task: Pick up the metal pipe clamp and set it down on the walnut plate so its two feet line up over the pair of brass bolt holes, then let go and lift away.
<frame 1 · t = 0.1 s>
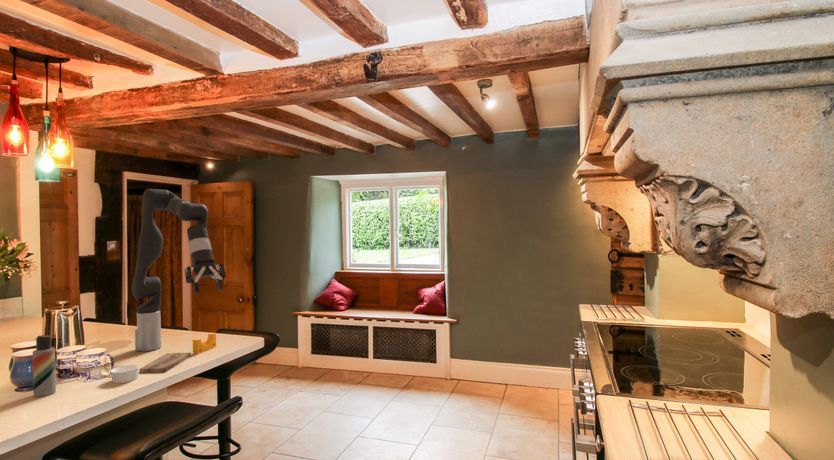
hand: (209, 291, 161), 31 cm above the worktop, tool tilted 20°, fingers open, 8 cm apart
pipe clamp: (203, 350, 193), on the worktop
ramekin: (125, 380, 157), on the worktop
bolt plate: (166, 363, 174), on the worktop
lotion bottle: (44, 394, 144), on the worktop
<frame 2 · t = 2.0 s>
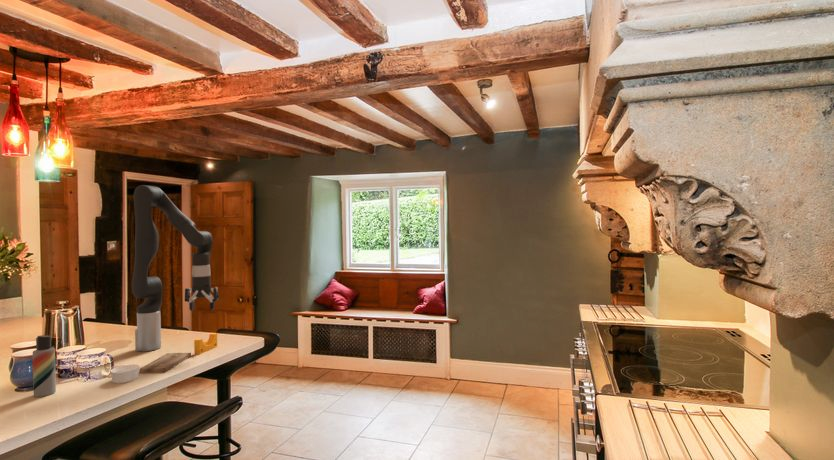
hand: (202, 310, 193), 18 cm above the worktop, tool pointing down, fingers open, 8 cm apart
nothing on the worktop moved.
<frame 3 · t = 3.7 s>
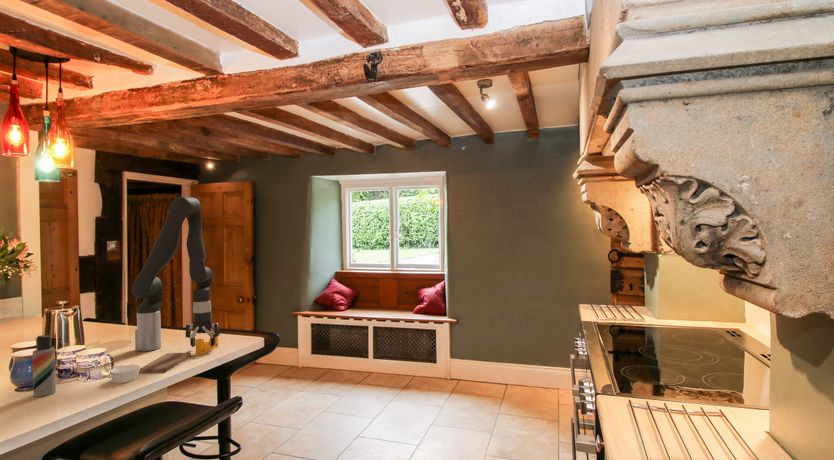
hand: (203, 346, 193), 2 cm above the worktop, tool pointing down, fingers open, 8 cm apart
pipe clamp: (205, 351, 193), on the worktop, touching gripper
everything else where it was.
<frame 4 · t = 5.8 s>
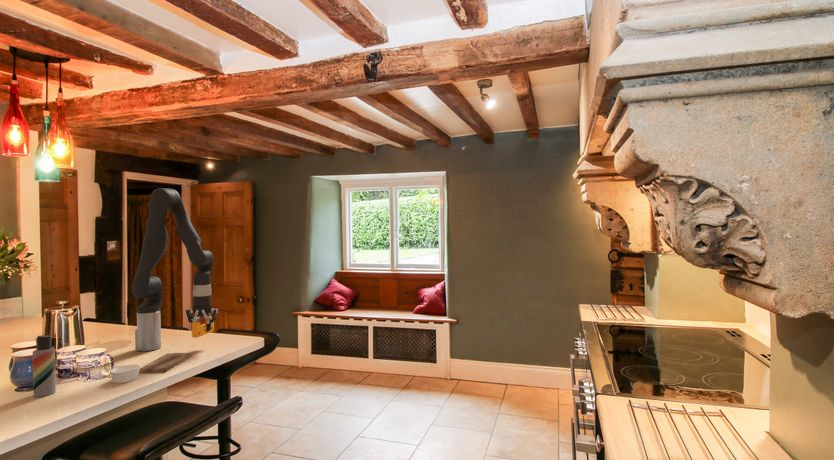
hand: (202, 331, 193), 8 cm above the worktop, tool pointing down, fingers closed on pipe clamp, 4 cm apart
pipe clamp: (201, 334, 193), point 7 cm above the worktop, touching gripper
everything else where it was.
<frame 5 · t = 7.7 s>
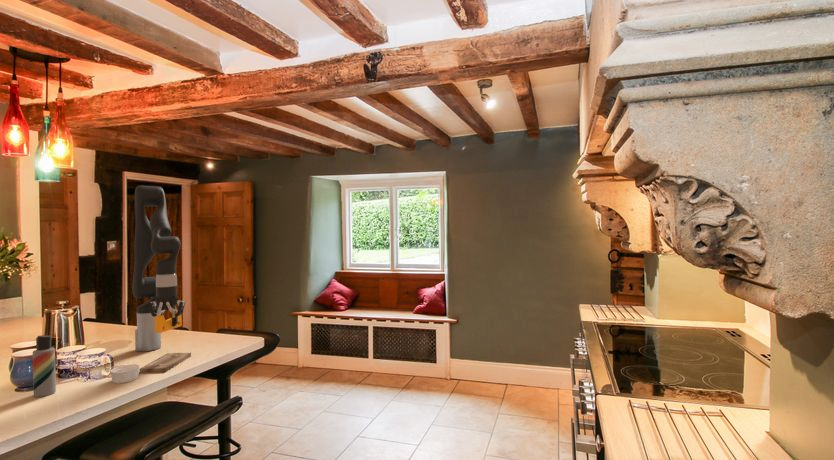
hand: (167, 326, 174), 15 cm above the worktop, tool pointing down, fingers closed on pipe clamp, 4 cm apart
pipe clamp: (166, 329, 174), point 14 cm above the worktop, touching gripper
everything else where it was.
when the fingers open (4 cm above the worktop, at t = 10.8 s): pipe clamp drops 1 cm, resting on bolt plate.
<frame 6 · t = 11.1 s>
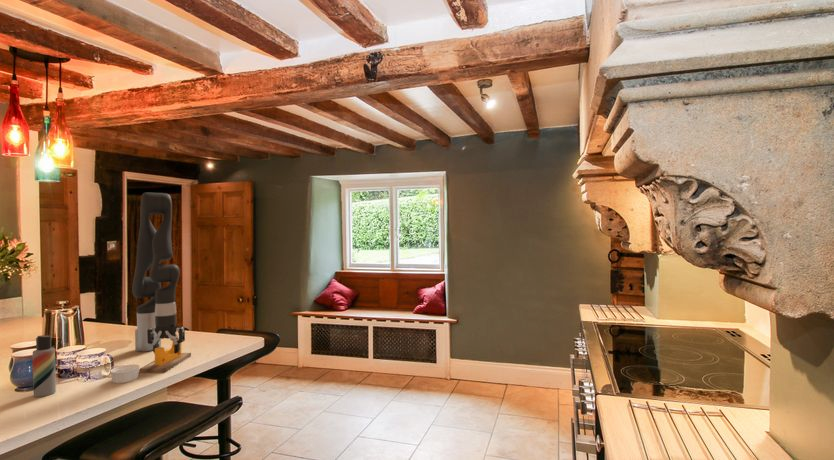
hand: (166, 353, 174), 4 cm above the worktop, tool pointing down, fingers open, 7 cm apart
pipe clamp: (166, 360, 174), point 1 cm above the worktop, touching bolt plate
everything else where it was.
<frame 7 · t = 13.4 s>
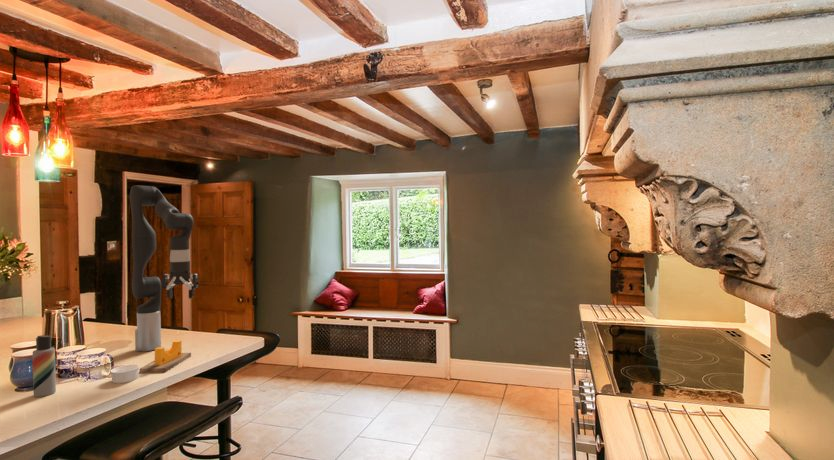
hand: (180, 298, 180), 26 cm above the worktop, tool pointing down, fingers open, 8 cm apart
nothing on the worktop moved.
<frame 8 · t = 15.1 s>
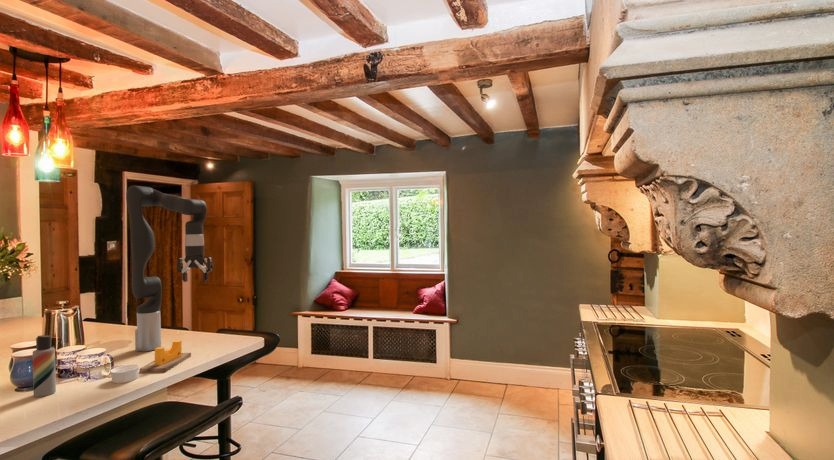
hand: (195, 281, 187), 32 cm above the worktop, tool pointing down, fingers open, 8 cm apart
nothing on the worktop moved.
at the end: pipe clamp 0.2 cm off-centre on the bolt plate, point 1.4 cm above the bolt plate's base; the gripper is holding nothing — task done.
